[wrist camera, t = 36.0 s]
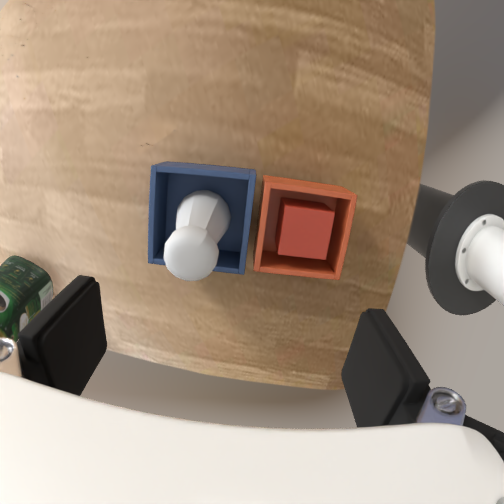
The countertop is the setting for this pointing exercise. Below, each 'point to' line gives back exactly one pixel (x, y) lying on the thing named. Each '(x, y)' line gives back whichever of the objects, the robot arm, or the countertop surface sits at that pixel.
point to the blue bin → (196, 179)
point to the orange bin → (265, 244)
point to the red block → (303, 228)
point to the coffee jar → (21, 294)
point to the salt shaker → (197, 235)
